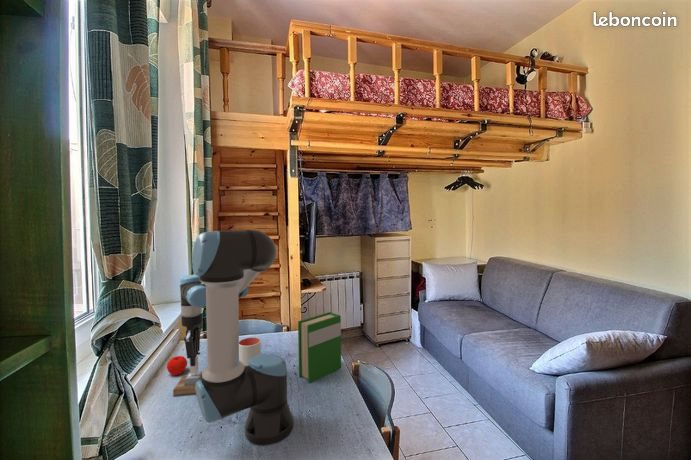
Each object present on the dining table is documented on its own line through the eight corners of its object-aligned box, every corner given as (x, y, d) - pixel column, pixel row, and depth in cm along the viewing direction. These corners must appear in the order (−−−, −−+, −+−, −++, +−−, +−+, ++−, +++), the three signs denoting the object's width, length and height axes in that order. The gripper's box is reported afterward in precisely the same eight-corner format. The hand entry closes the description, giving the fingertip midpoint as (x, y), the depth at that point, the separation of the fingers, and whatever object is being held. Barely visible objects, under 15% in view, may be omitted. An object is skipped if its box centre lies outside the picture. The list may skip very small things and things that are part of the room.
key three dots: (199, 387, 123) (198, 377, 123) (185, 388, 123) (185, 378, 122) (203, 380, 128) (202, 370, 128) (190, 381, 128) (189, 371, 127)
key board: (249, 389, 123) (248, 383, 123) (173, 396, 119) (173, 390, 119) (253, 375, 134) (252, 369, 134) (183, 381, 130) (183, 375, 130)
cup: (264, 357, 151) (263, 337, 150) (256, 368, 141) (255, 346, 140) (244, 357, 152) (243, 337, 151) (235, 367, 142) (234, 345, 141)
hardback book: (309, 383, 127) (308, 325, 126) (299, 376, 133) (297, 321, 132) (341, 368, 140) (340, 315, 138) (330, 362, 145) (329, 311, 144)
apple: (181, 367, 142) (180, 351, 142) (191, 371, 138) (191, 355, 138) (163, 375, 135) (162, 358, 135) (173, 380, 131) (173, 362, 131)
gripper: (196, 318, 118) (199, 379, 119) (206, 308, 131) (208, 364, 132) (175, 320, 117) (178, 381, 118) (187, 310, 130) (189, 365, 131)
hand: (194, 372), depth 125 cm, fingers closed
